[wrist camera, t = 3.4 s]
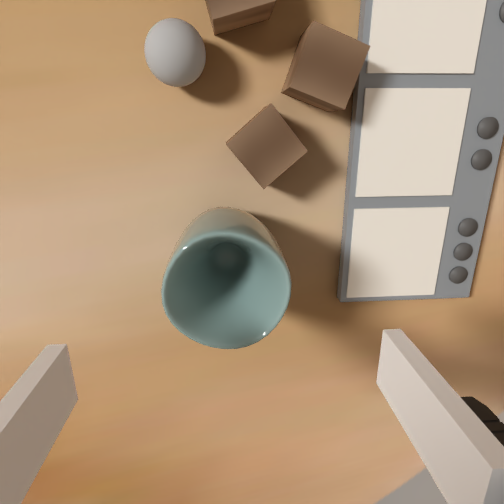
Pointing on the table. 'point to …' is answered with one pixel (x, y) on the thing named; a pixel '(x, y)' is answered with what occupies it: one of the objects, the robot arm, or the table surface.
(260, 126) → the walnut block
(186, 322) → the cup
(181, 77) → the grey ball
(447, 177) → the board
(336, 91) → the walnut block
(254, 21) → the walnut block
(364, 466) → the table surface
